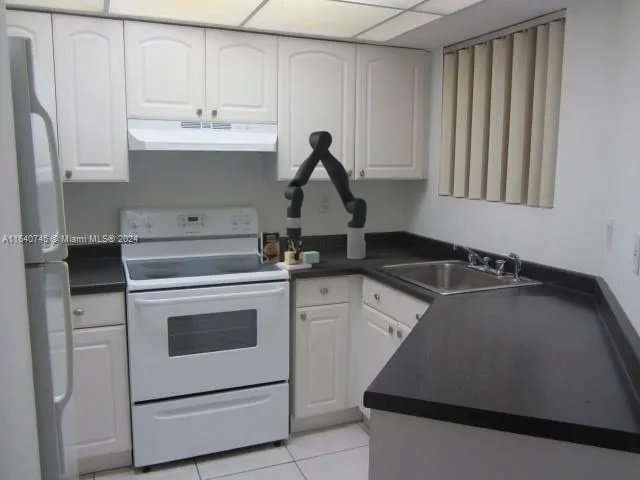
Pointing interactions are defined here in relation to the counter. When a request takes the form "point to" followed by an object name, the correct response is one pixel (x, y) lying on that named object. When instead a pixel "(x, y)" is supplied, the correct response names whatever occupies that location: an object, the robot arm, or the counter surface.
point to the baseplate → (294, 265)
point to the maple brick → (293, 257)
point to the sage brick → (311, 257)
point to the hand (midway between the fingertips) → (294, 259)
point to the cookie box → (269, 247)
